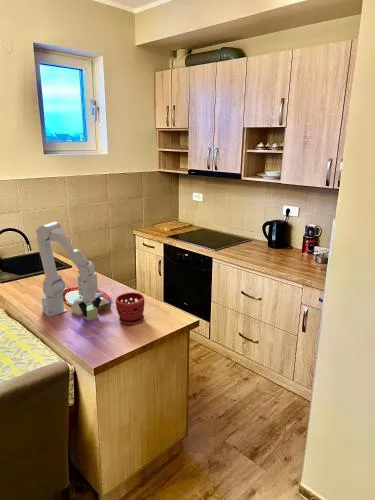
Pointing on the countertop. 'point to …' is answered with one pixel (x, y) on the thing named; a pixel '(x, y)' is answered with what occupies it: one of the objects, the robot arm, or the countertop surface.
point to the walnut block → (104, 306)
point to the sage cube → (91, 312)
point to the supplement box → (81, 284)
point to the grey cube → (76, 309)
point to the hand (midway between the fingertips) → (90, 314)
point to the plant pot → (130, 308)
